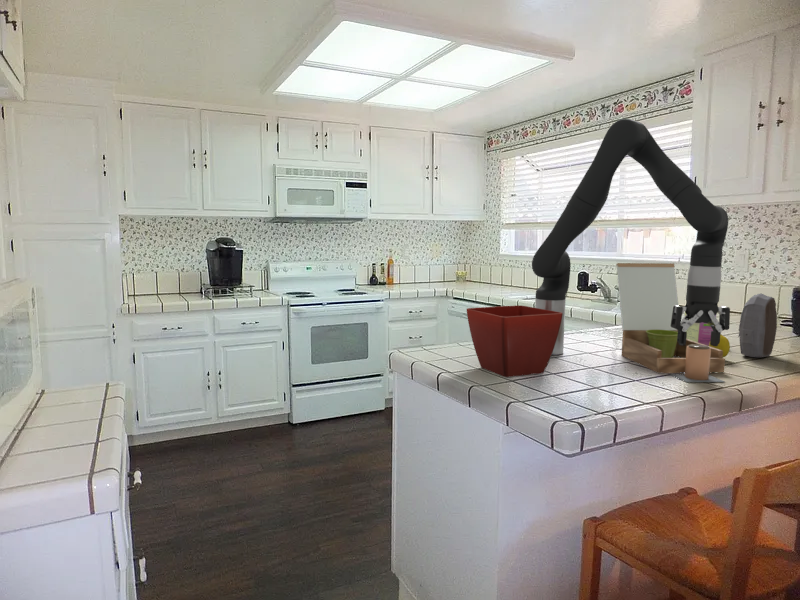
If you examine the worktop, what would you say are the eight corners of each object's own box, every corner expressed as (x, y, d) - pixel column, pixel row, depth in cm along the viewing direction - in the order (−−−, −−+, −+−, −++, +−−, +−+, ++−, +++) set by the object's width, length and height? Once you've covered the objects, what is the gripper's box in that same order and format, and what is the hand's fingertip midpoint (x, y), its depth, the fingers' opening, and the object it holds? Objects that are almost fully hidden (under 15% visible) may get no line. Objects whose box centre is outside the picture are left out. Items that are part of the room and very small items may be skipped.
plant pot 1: (463, 366, 154) (464, 307, 152) (519, 360, 161) (521, 304, 159) (501, 382, 136) (503, 316, 134) (562, 375, 144) (564, 313, 142)
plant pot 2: (684, 364, 158) (686, 335, 157) (652, 363, 159) (654, 334, 158) (669, 357, 168) (671, 329, 167) (639, 356, 168) (640, 329, 167)
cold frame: (658, 373, 147) (660, 344, 146) (621, 355, 169) (622, 330, 168) (724, 373, 148) (726, 344, 147) (678, 355, 170) (680, 330, 169)
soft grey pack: (759, 361, 162) (765, 295, 160) (729, 356, 169) (734, 293, 167) (776, 355, 172) (781, 292, 170) (746, 350, 178) (751, 290, 176)
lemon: (727, 359, 166) (729, 333, 165) (729, 362, 161) (732, 336, 160) (707, 357, 168) (708, 331, 167) (708, 360, 163) (710, 334, 162)
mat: (686, 382, 138) (686, 381, 137) (669, 374, 145) (669, 373, 145) (724, 382, 138) (725, 381, 138) (706, 374, 146) (706, 373, 146)
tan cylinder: (692, 380, 139) (694, 348, 138) (680, 374, 144) (682, 344, 143) (713, 380, 139) (715, 348, 138) (700, 374, 145) (702, 344, 144)
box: (714, 345, 186) (716, 312, 185) (697, 345, 186) (700, 311, 185) (698, 340, 197) (700, 308, 195) (682, 340, 197) (684, 308, 195)
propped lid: (622, 356, 169) (627, 264, 166) (606, 348, 181) (610, 262, 177) (679, 356, 170) (685, 264, 167) (659, 348, 181) (665, 262, 178)
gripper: (685, 284, 135) (679, 348, 137) (740, 285, 135) (733, 348, 138) (668, 282, 142) (663, 342, 144) (721, 282, 143) (715, 342, 145)
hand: (698, 345), depth 141 cm, fingers open, 8 cm apart
